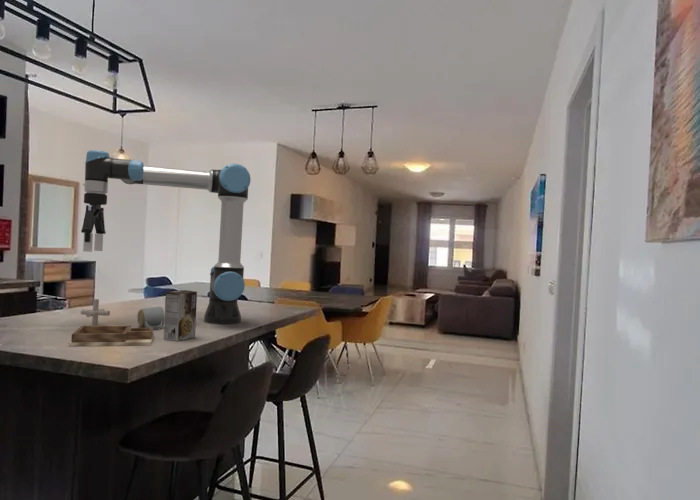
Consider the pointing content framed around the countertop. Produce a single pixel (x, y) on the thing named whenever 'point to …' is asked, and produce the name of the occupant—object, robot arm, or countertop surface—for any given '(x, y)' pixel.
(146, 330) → the board
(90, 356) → the countertop surface
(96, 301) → the pipe connector
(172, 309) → the coffee box
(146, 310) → the ceramic mug
